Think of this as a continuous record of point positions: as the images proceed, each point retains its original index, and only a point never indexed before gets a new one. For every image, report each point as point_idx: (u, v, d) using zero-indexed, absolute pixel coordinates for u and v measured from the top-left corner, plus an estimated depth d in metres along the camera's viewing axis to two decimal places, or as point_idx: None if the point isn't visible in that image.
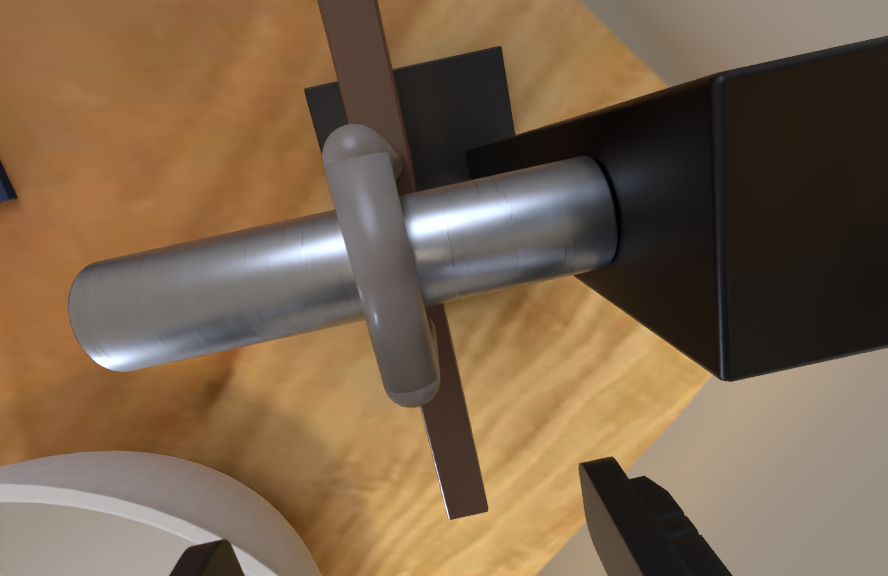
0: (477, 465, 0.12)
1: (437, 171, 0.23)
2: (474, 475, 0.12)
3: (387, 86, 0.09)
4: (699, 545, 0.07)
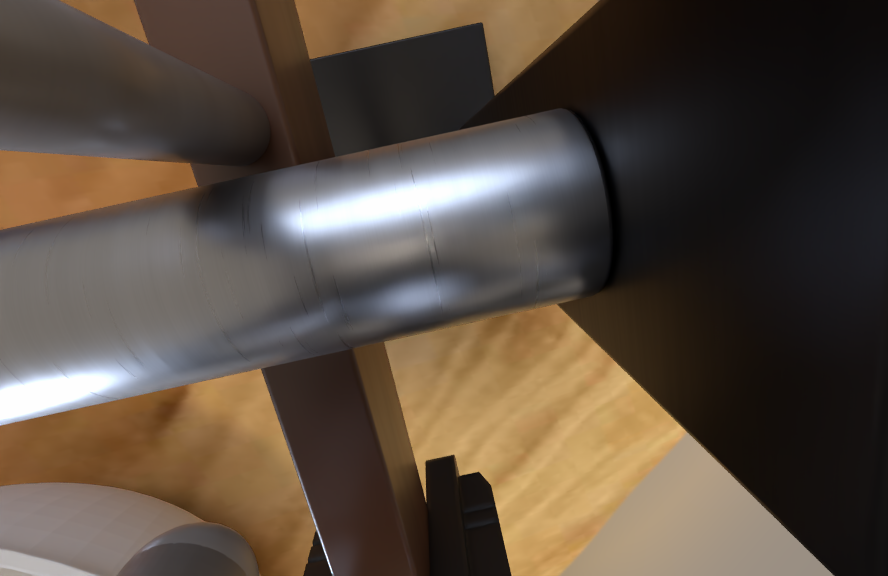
0: None
1: None
2: None
3: None
4: (493, 531, 0.08)
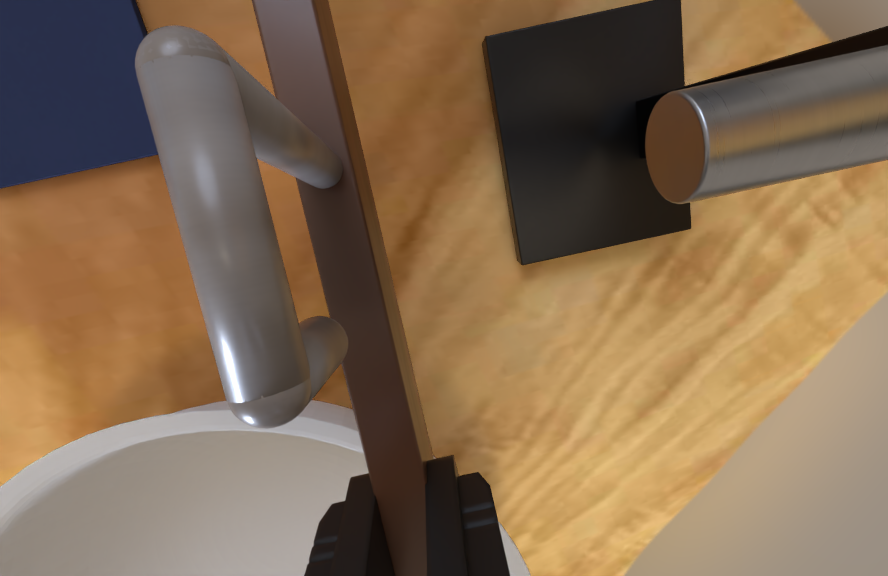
0: None
1: (606, 121, 0.23)
2: None
3: (324, 84, 0.09)
4: (492, 531, 0.08)
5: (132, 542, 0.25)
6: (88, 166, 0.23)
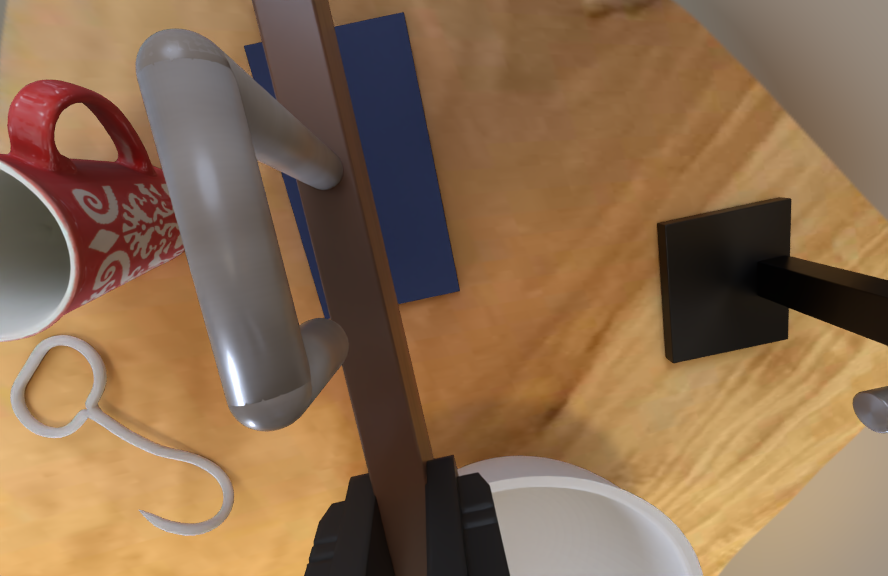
0: None
1: (737, 274, 0.35)
2: None
3: (325, 85, 0.09)
4: (492, 531, 0.08)
5: None
6: None
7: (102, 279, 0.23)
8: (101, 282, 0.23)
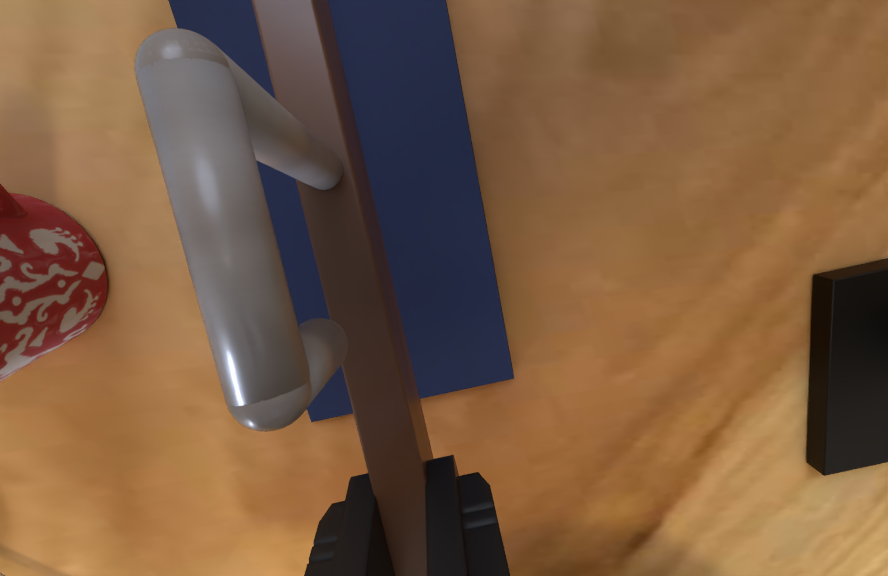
0: None
1: None
2: None
3: (324, 84, 0.09)
4: (492, 531, 0.08)
5: None
6: (420, 397, 0.23)
7: None
8: None
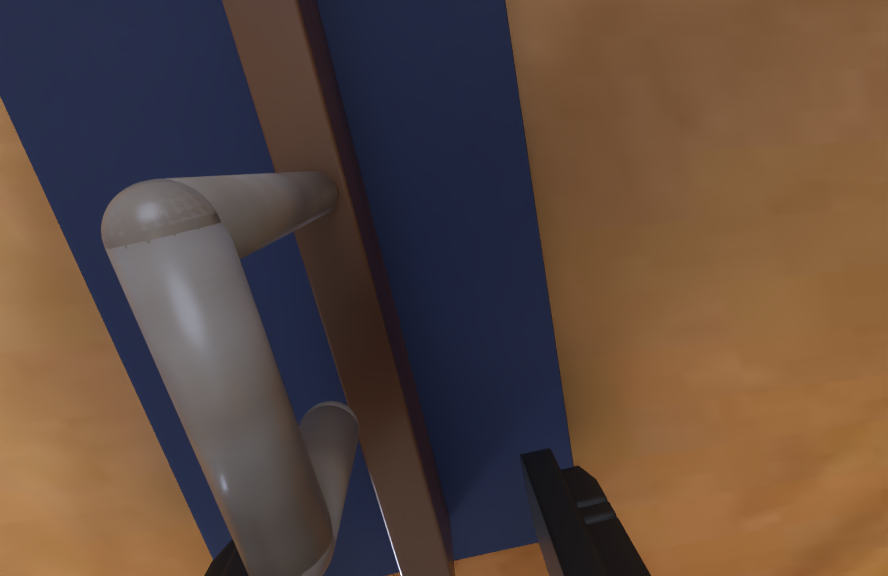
0: (442, 544, 0.10)
1: None
2: (439, 556, 0.10)
3: (312, 95, 0.07)
4: (614, 527, 0.08)
5: None
6: None
7: None
8: None
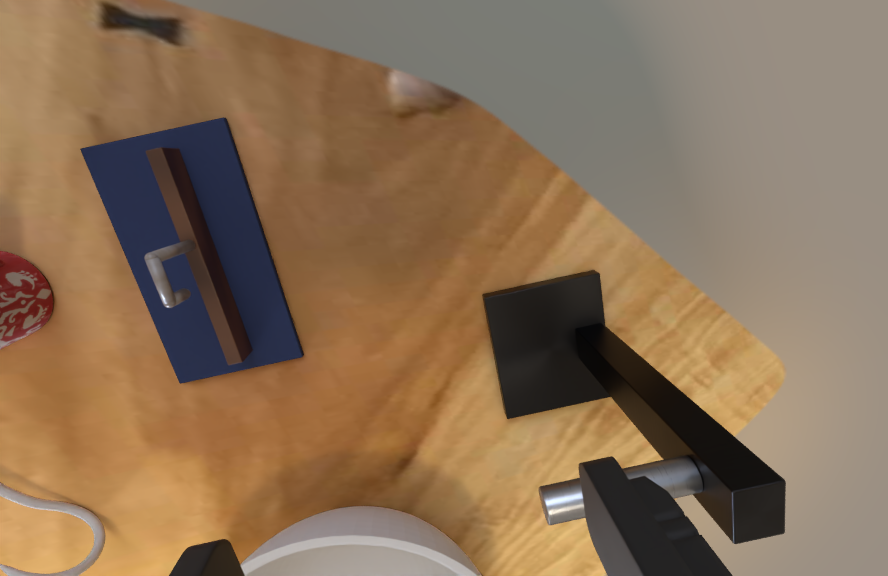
0: (235, 344, 0.35)
1: (557, 340, 0.38)
2: (235, 348, 0.35)
3: (187, 223, 0.32)
4: (699, 545, 0.07)
5: None
6: (245, 368, 0.38)
7: None
8: None
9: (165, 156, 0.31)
